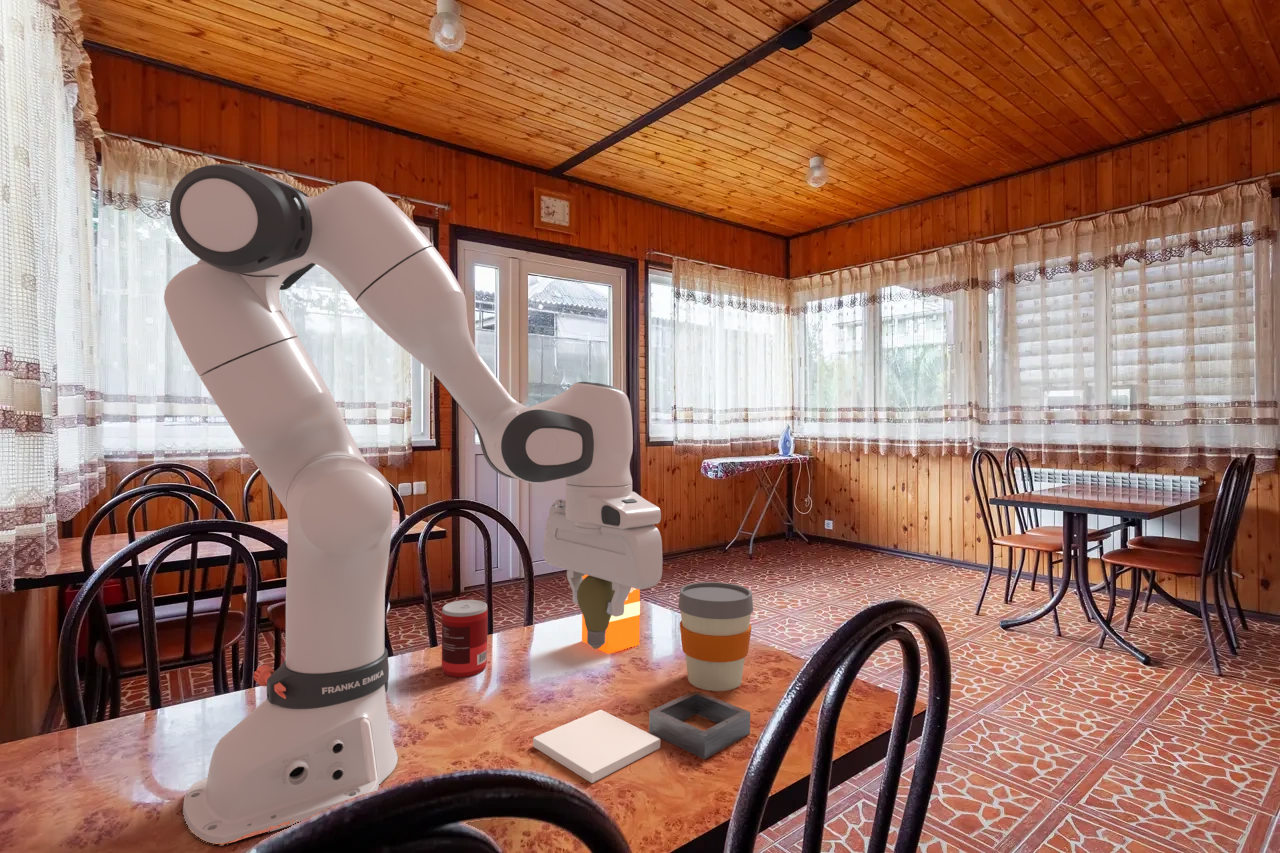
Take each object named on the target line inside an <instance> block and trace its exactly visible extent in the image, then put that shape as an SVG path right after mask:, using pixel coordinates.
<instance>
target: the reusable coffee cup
mask: <svg viewBox="0 0 1280 853" xmlns="http://www.w3.org/2000/svg"><path fill="white" fill-rule="evenodd" d="M679 590H680V591H679V598H678V609H679V611H680V617H681V620H680V622H679V629H680V630H679V632H680V639H681V640H680V642H681V648H682V649H681V650H682V651H683V653H684V655H685V662H686V664H685V665H686V671H687V680H688V683H690V684H691V685H693V687H696V688H698V689H701V690H706V691H711V692H726V691H731V690H734V689H737V688H739V687H740V686H741V684H742V679H743V674H744V666H745V659H746V657H747V656H748V655H749V654H748V653H749V648H750V641H751V635H752V629H753V628H752V625H751V617H752V616H751V615H752V613H753V612H754V603H753V592H752V591H751V589H749V588H747V587H745V586H742V585H738V584H734V583H727V582H717V581H715V582H714V581H709V582H708V581H707V582H706V581H704V582H693V583H689V584H686V585H683V586H682V587H680V589H679Z"/></svg>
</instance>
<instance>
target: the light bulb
mask: <svg viewBox="0 0 1280 853" xmlns="http://www.w3.org/2000/svg"><path fill="white" fill-rule="evenodd" d="M614 593H615V591H614V590H612V582H610V581H606V580H603V579H599V578H596V577H592V576H587V577H586V578H584V579H583V581H582V582H581V583H580V585H579V587H578V591H577V601H578V604H577V605H578V607H579V609H580V611H581V614H582V613H583V616H584V619H585V625H586V627H587V633H588V634H587V643H588V644H589V646H590V647H591V648H593V649H594V650H599V649H598V648H600V647H601V646H602V645H603V644H605V634H606V629H607V628H608V625H609V621H610V618H611V616H612V615H609V614H607V601H610V600H612V598H613V596H614ZM588 644H587V645H588Z"/></svg>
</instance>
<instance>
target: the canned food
mask: <svg viewBox="0 0 1280 853" xmlns="http://www.w3.org/2000/svg"><path fill="white" fill-rule="evenodd" d="M488 613H489V612H488V603H486V602H485V601H483V600H478V599H461V600H455V601H451V602H449V603H446V604H444V605H443V606H442V610H441V669H442V672H443V673H444V674H445V675H447V676H449V677H452V678H466V677H472V676H476V675H478V674H480V673H482V672H483V671H484V670H485V669H486V667H487V663H488V615H489V614H488Z"/></svg>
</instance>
